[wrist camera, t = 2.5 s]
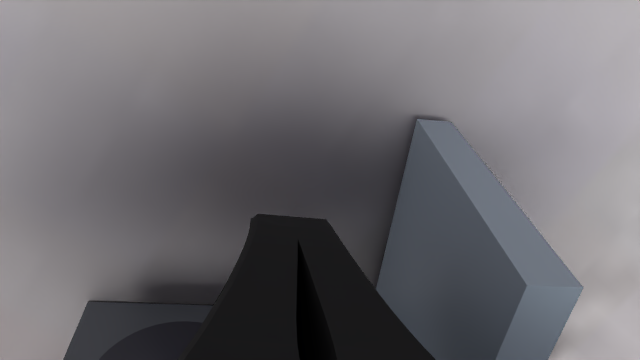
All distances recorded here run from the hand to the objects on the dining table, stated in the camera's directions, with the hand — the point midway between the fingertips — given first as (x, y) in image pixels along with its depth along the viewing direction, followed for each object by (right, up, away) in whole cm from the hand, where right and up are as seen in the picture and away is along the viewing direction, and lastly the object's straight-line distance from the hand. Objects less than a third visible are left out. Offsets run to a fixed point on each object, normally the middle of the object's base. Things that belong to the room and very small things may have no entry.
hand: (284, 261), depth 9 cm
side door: (+2, -4, +6) cm, 8 cm away
